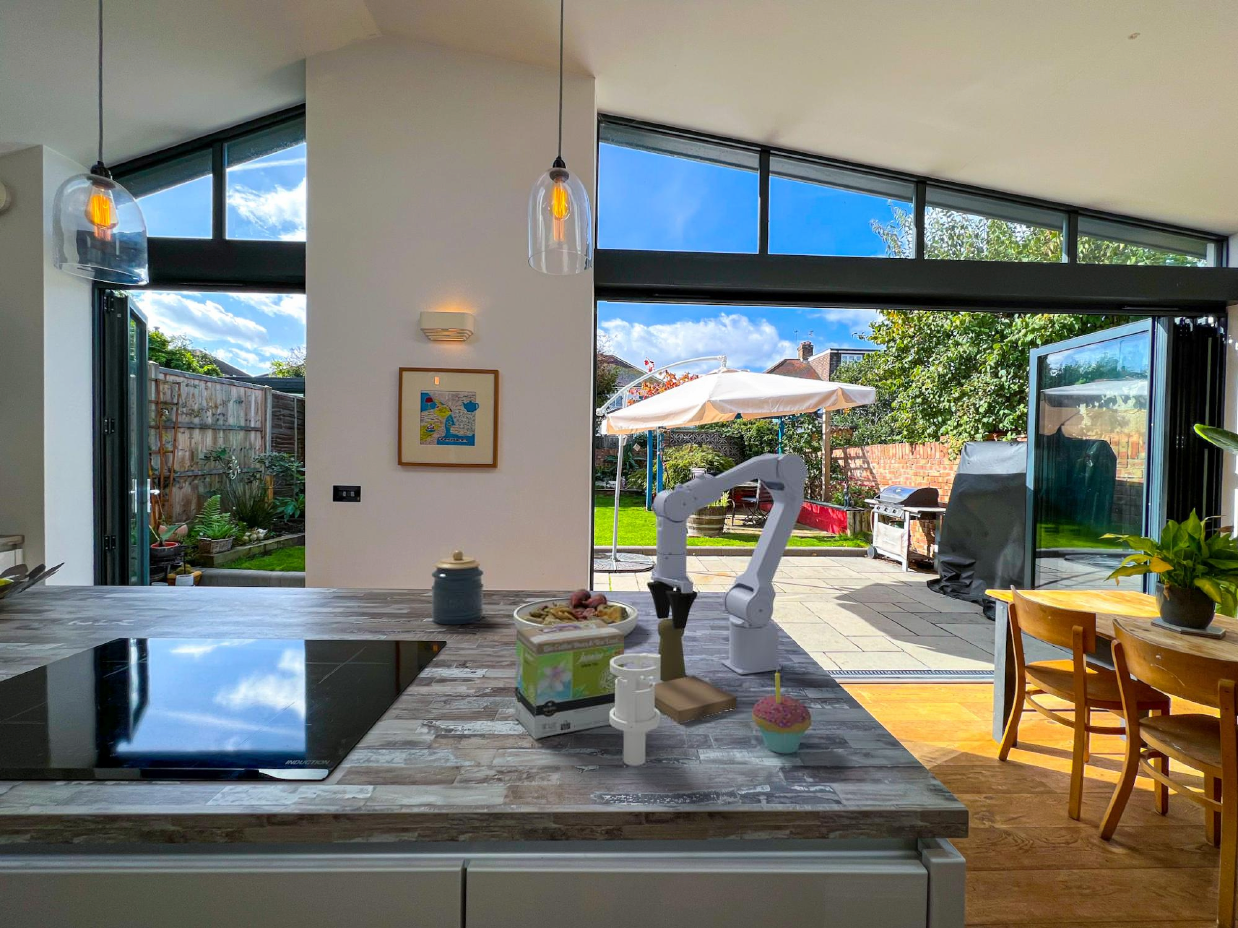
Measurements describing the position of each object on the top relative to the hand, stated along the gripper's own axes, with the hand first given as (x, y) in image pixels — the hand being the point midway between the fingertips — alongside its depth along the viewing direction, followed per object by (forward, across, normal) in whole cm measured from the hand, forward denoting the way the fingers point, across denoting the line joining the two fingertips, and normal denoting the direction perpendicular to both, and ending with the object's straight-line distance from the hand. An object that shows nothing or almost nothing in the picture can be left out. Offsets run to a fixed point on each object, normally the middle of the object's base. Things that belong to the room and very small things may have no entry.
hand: (670, 622), depth 123 cm
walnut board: (+11, +13, -3) cm, 17 cm away
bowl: (+11, -37, -8) cm, 39 cm away
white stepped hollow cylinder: (+10, +29, -19) cm, 36 cm away
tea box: (+11, +13, -24) cm, 29 cm away
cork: (+11, 0, 0) cm, 11 cm away
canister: (+11, -57, -34) cm, 67 cm away
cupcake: (+11, +32, +3) cm, 34 cm away
